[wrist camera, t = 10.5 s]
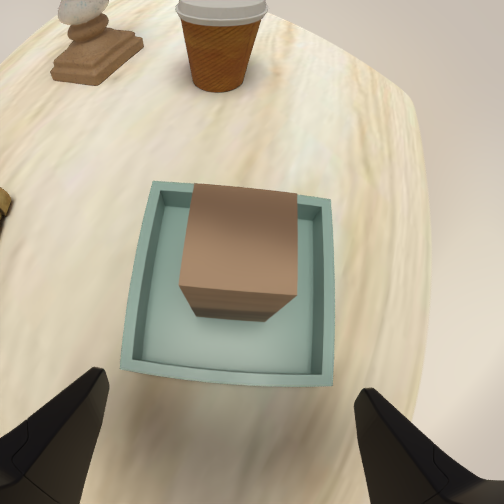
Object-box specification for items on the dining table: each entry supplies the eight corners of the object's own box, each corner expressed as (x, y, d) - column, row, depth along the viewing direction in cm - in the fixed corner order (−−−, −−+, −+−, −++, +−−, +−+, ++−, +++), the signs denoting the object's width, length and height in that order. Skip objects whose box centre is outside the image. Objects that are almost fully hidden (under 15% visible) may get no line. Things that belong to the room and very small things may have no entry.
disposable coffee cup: (171, 69, 32) (166, -9, 21) (238, 55, 34) (246, -18, 23) (193, 109, 29) (189, 15, 18) (269, 91, 31) (287, 7, 20)
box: (316, 382, 21) (332, 385, 18) (134, 367, 20) (119, 369, 17) (317, 218, 26) (330, 199, 23) (160, 203, 25) (152, 181, 22)
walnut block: (264, 322, 21) (297, 295, 12) (196, 316, 21) (178, 285, 12) (267, 257, 23) (297, 193, 14) (203, 252, 23) (194, 183, 14)
